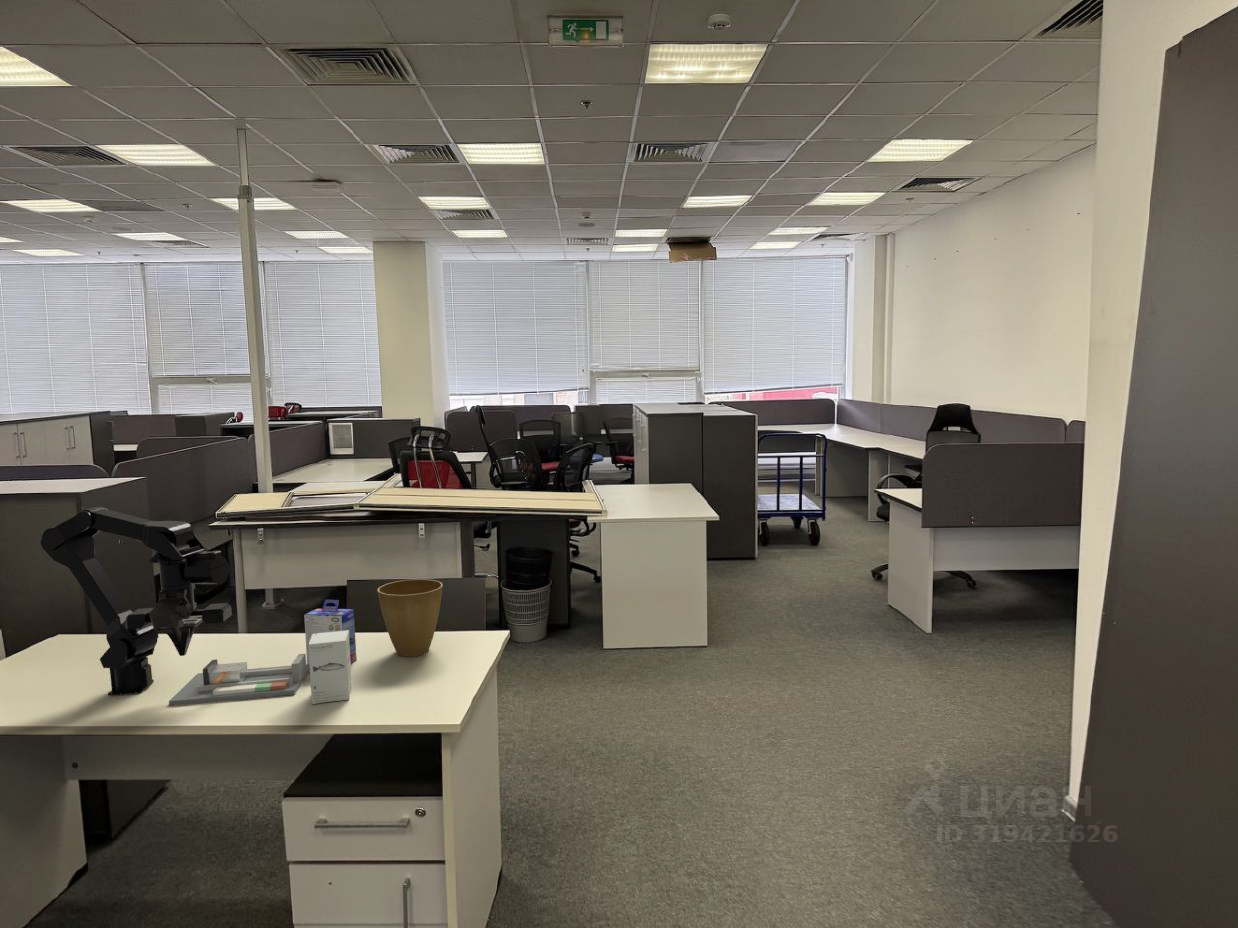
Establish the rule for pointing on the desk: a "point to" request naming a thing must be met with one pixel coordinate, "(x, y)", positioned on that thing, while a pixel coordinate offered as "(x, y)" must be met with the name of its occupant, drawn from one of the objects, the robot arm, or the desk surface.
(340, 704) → the desk surface
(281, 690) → the board
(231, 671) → the grey block
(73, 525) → the robot arm
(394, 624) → the plant pot
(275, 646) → the desk surface
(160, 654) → the desk surface
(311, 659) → the supplement box
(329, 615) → the ink cartridge box
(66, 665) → the desk surface
